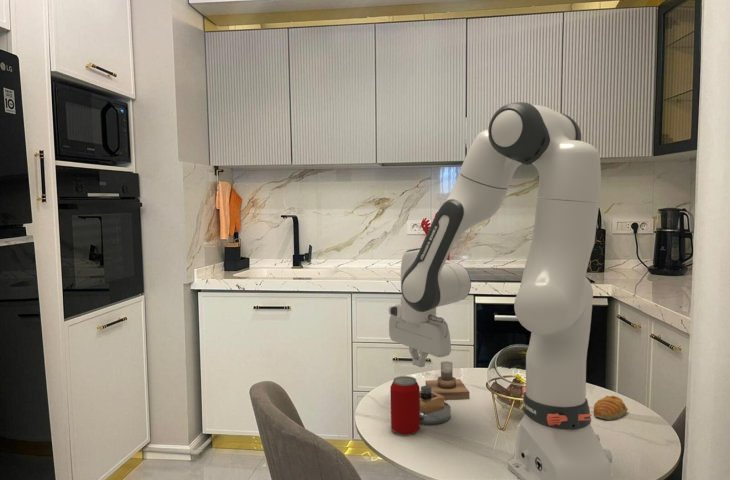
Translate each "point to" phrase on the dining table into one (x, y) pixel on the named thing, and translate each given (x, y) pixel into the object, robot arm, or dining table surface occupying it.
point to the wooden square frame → (432, 403)
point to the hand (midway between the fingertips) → (418, 365)
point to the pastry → (609, 408)
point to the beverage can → (405, 405)
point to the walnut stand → (448, 384)
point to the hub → (436, 416)
